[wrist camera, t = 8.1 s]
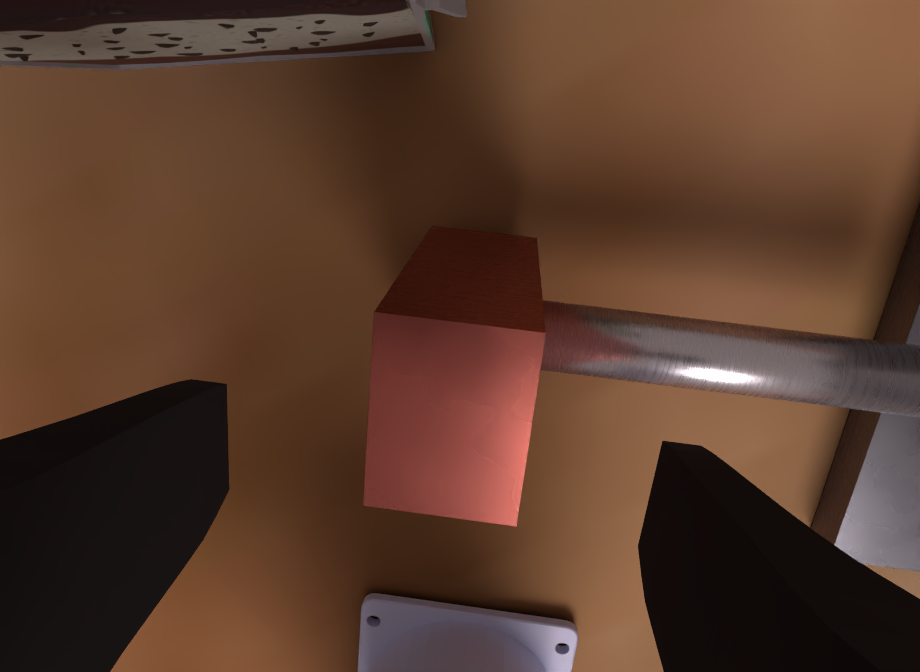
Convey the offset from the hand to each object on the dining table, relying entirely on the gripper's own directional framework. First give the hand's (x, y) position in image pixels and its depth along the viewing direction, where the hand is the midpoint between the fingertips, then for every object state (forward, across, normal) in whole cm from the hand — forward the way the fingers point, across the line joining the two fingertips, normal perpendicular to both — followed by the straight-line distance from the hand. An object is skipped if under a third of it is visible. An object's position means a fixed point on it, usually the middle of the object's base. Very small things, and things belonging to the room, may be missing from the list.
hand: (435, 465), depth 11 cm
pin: (+9, -5, 0) cm, 11 cm away
